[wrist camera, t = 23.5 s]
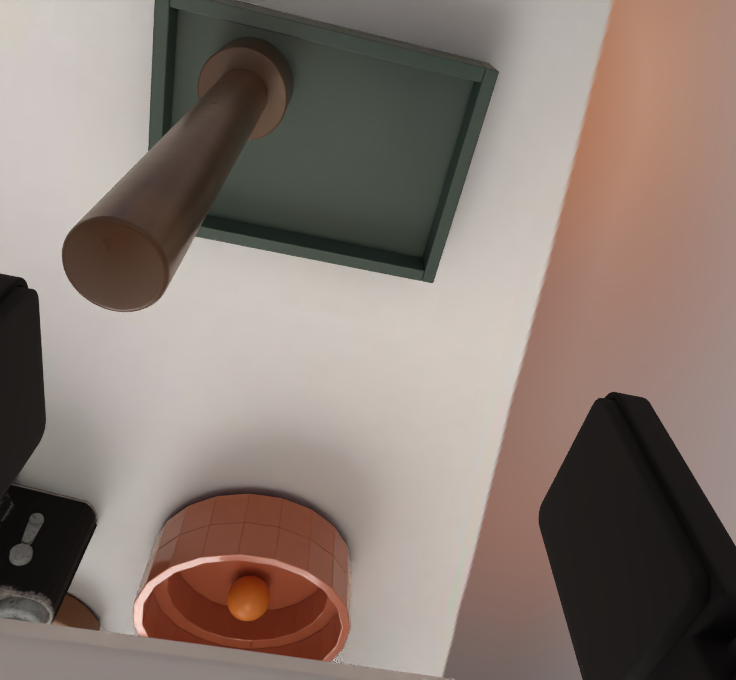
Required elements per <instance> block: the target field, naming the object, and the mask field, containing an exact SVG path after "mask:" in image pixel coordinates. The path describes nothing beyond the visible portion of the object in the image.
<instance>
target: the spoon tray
mask: <svg viewBox="0 0 736 680" xmlns="http://www.w3.org/2000/svg"><path fill="white" fill-rule="evenodd" d="M242 37H254V38H259V39H262V40H265V41H267V42H269V43H270V44H272V45H273V46H275V47H276V48H277V49H278V50H279V51H280V52H281V53H282V54H283V56H284V57H285V58H286V60H287V62H288V64H289V66H290V69H291V72H292V77H293V92H292V96H291V99H290V102H289V104H288V107H287V109H286V112H285V114H284V116H283V118H282V120H281V122H280V123H279V125H278V126H277V127H276V128H275V129H274V130H273V131H272V132H271V133H269V134H268V135H266V136H264V137H261V138H259V139H254V140H247V142H246V144H245V146H244V148H243V149H242V151H241V153H240V155H239V157H238V159H237V160H236V162H235V164H234V166H233V168H232V170H231V171H230V173H229V175H228V177H227V179H226V181H225V182H224V184H223V186H222V188H221V190H220V192H219V193H218V195H217V197H216V199H215V201H214V203H213V204H212V206H211V208H210V210H209V212H208V214H207V215H206V217H205V219H204V221H203V223H202V225H201V226H200V228H199V230H198V232H197V234H196V237H201V238H206V239H211V240H216V241H221V242H226V243H231V244H237V245H242V246H247V247H252V248H257V249H262V250H267V251H272V252H277V253H282V254H287V255H292V256H297V257H302V258H308V259H313V260H318V261H323V262H328V263H333V264H338V265H343V266H348V267H353V268H358V269H363V270H368V271H373V272H379V273H384V274H389V275H394V276H399V277H404V278H409V279H414V280H419V281H421V280H422V281H424V282H429V283H433V282H434V278H435V275H436V272H437V269H438V266H439V262H440V259H441V256H442V253H443V249H444V246H445V243H446V240H447V237H448V233H449V230H450V227H451V224H452V221H453V217H454V214H455V211H456V208H457V205H458V201H459V198H460V195H461V192H462V189H463V185H464V182H465V179H466V176H467V173H468V169H469V166H470V163H471V160H472V157H473V153H474V150H475V147H476V144H477V141H478V137H479V134H480V131H481V128H482V125H483V121H484V118H485V115H486V112H487V108H488V105H489V102H490V99H491V96H492V92H493V89H494V86H495V83H496V80H497V76H498V73H499V71H497V70H496V69H495V68H494V67H493V66H492V65H491V64H489V63H486V62H482V61H478V60H474V59H470V58H466V57H462V56H458V55H454V54H450V53H446V52H442V51H438V50H434V49H430V48H426V47H421V46H417V45H413V44H409V43H405V42H401V41H397V40H393V39H389V38H385V37H381V36H377V35H373V34H369V33H365V32H361V31H357V30H353V29H349V28H345V27H341V26H337V25H332V24H328V23H324V22H320V21H316V20H312V19H308V18H304V17H300V16H296V15H292V14H288V13H284V12H280V11H276V10H272V9H268V8H264V7H260V6H256V5H252V4H248V3H244V2H239V1H235V0H155V7H154V30H153V54H152V77H151V100H150V124H149V147H148V152H149V150H150V149H151V148H152V147H153V146H154V145H155V144H156V143H157V142H158V141H159V140H160V139H161V138H162V137H163V136H164V135H165V134H166V133H167V132H168V131H169V130H170V129H171V128H172V127H173V126H174V125H175V124H176V123H177V122H178V121H179V120H180V119H181V118H182V117H183V116H184V115H185V114H186V113H187V112H188V111H189V110H190V109H191V108H192V107H193V106H194V105H195V104H196V103H197V102H198V101H199V98H198V91H197V88H198V79H199V75H200V72H201V70H202V68H203V66H204V64H205V63H206V61H207V60H208V59H209V58H210V57H211V56H212V55H213V54H215V53H216V52H217V51H218V50H220V49H221V48H222V47H224V46H225V45H226V44H227V43H229V42H231V41H233V40H235V39H238V38H242Z"/></svg>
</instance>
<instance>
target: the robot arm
mask: <svg viewBox="0 0 736 680" xmlns="http://www.w3.org/2000/svg"><path fill="white" fill-rule="evenodd" d="M45 425H46V413H45V397H44V380H43V364H42V347H41V330H40V314H39V299H38V294H37V292H36V291H35V290H34V289H29V288H28V285H27V283H26V281H25V280H24V279H23V278H20V277H15V276H10V275H5V274H0V501H1V499H2V498H3V496H4V495H5V493H6V492H7V490H8V489H9V487H10V486H11V484H12V483H13V481H14V480H15V478H16V477H17V475H18V474H19V472H20V471H21V469H22V468H23V466H24V465H25V463H26V462H27V460H28V459H29V458H30V456H31V455H32V453H33V452H34V450H35V449H36V447H37V446H38V444H39V442H40V441H41V439H42V436H43V434H44V430H45ZM539 526H540V530H541V534H542V537H543V541H544V544H545V548H546V551H547V555H548V558H549V562H550V565H551V569H552V573H553V576H554V579H555V583H556V586H557V590H558V594H559V597H560V601H561V604H562V608H563V611H564V615H565V619H566V622H567V626H568V629H569V633H570V636H571V640H572V643H573V647H574V650H575V654H576V658H577V661H578V665H579V668H580V672H581V675H582V679H583V680H736V546H735V544H734V543H733V541H732V539H731V538H730V536H729V534H728V533H727V531H726V529H725V528H724V526H723V524H722V523H721V521H720V519H719V518H718V516H717V514H716V513H715V511H714V509H713V508H712V506H711V504H710V503H709V501H708V499H707V498H706V496H705V494H704V493H703V491H702V489H701V488H700V486H699V484H698V483H697V481H696V479H695V478H694V476H693V474H692V473H691V471H690V469H689V468H688V466H687V464H686V463H685V461H684V459H683V458H682V456H681V454H680V452H679V451H678V449H677V448H676V446H675V444H674V442H673V441H672V439H671V438H670V436H669V434H668V432H667V431H666V429H665V428H664V426H663V424H662V423H661V421H660V419H659V418H658V416H657V414H656V412H655V411H654V409H653V408H652V406H651V404H650V403H649V401H648V400H647V399H645V398H642V397H637V396H632V395H627V394H622V393H617V392H612V393H609V394H608V395H607V396H606V397H605V398H599V399H597V400H596V401H595V402H594V404H593V406H592V407H591V409H590V411H589V413H588V415H587V417H586V419H585V421H584V423H583V425H582V427H581V429H580V431H579V432H578V434H577V436H576V438H575V440H574V442H573V444H572V446H571V448H570V450H569V452H568V454H567V456H566V458H565V460H564V462H563V464H562V465H561V467H560V469H559V471H558V473H557V475H556V477H555V479H554V481H553V483H552V485H551V487H550V489H549V491H548V493H547V495H546V496H545V498H544V500H543V502H542V504H541V507H540V511H539ZM0 680H456V679H449V678H442V677H435V676H428V675H421V674H413V673H406V672H399V671H392V670H385V669H377V668H370V667H363V666H356V665H348V664H341V663H334V662H327V661H319V660H312V659H305V658H298V657H290V656H283V655H276V654H268V653H261V652H254V651H246V650H239V649H232V648H224V647H217V646H210V645H202V644H195V643H187V642H180V641H172V640H164V639H157V638H149V637H142V636H134V635H126V634H119V633H111V632H104V631H96V630H89V629H81V628H73V627H66V626H58V625H51V624H43V623H35V622H28V621H20V620H13V619H5V618H0Z"/></svg>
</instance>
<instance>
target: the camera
mask: <svg viewBox="0 0 736 680" xmlns="http://www.w3.org/2000/svg"><path fill="white" fill-rule="evenodd" d="M96 519H97V518H96V513H95V511H94V509H93V507H92V506H91V505H90V504H89V503H88V502H87V501H83V500H78V499H74V498H70V497H66V496H62V495H57V494H53V493H49V492H45V491H41V490H37V489H33V488H29V487H25V486H21V485H16V484H11V486H10V487H9V489H8V490H7V492H6V493H5V495H4V496H3V498H2V499H1V501H0V618H5V619H13V620H20V621H28V622H35V623H43V624H51V623H52V622H53V621H54V620H55V618H56V616H57V613H58V611H59V609H60V607H61V604H62V602H63V600H64V598H65V595H66V593H67V591H68V589H69V587H70V584H71V582H72V580H73V578H74V575H75V573H76V571H77V569H78V566H79V564H80V562H81V560H82V558H83V555H84V553H85V551H86V549H87V546H88V544H89V542H90V540H91V537H92V535H93V533H94V531H95V529H96V526H97V524H96Z"/></svg>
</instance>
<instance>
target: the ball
mask: <svg viewBox="0 0 736 680" xmlns="http://www.w3.org/2000/svg"><path fill="white" fill-rule="evenodd" d="M269 602H270V591H269V588H268V586H267V584H266V583H265V582H264V581H263V580H262V579H261V578H259V577H256V576H251V575H249V576H244V577H241V578H239V579H238V580H236V581H235V582H234V583H233V584H232V586H231V587H230V589H229V592H228V595H227V605H228V608H229V610H230V612H231V614H232V615H233V616H234V617H236V618H237V619H239V620H242V621H253V620H255V619H257V618H259V617H261V616H262V615H263V614H264V613H265V611H266V610H267V608H268V606H269Z"/></svg>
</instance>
